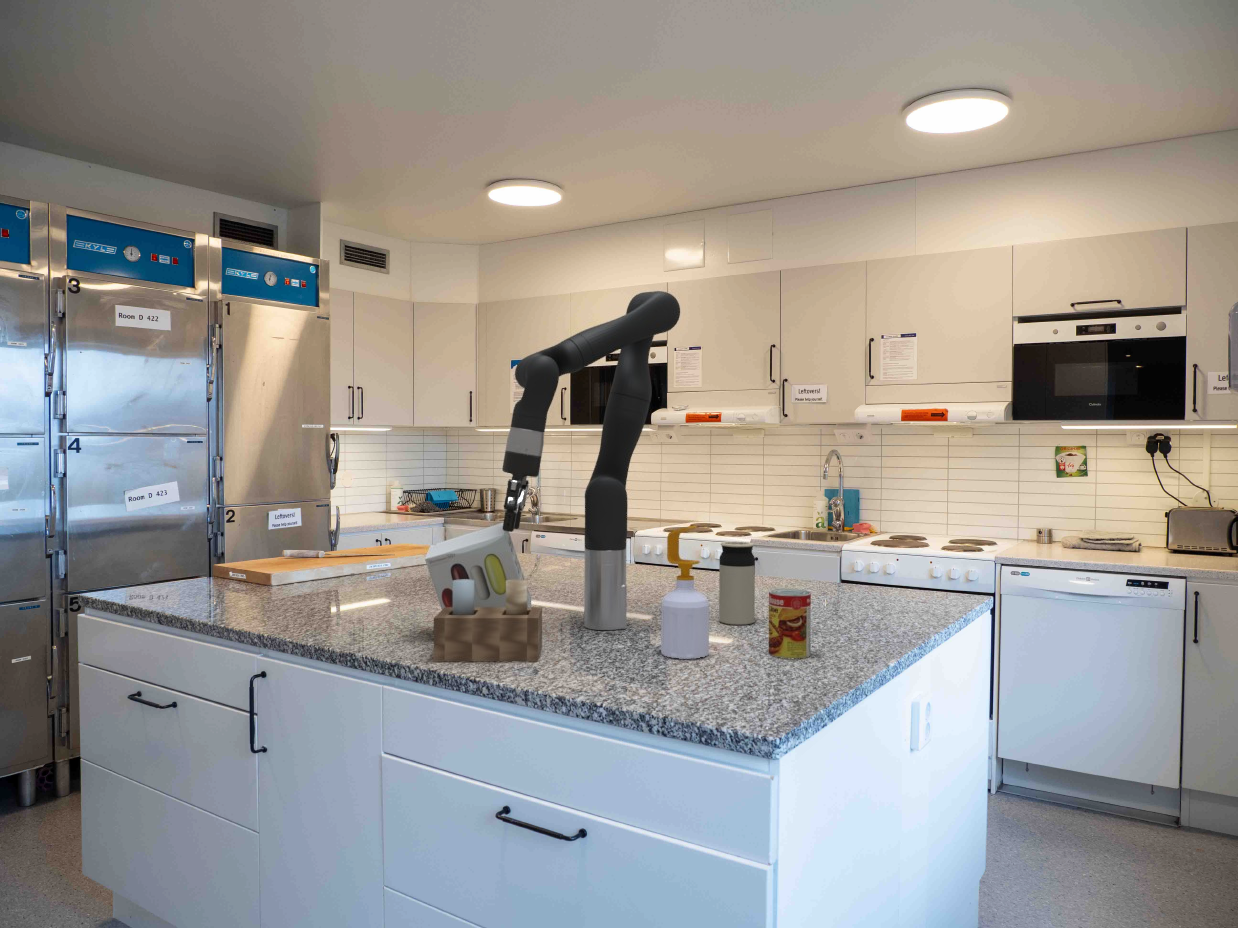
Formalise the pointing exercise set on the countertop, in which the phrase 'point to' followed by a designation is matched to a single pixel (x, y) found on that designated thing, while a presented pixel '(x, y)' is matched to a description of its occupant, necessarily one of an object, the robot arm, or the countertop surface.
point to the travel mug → (737, 584)
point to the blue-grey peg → (463, 597)
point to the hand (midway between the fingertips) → (510, 529)
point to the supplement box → (475, 566)
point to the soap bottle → (684, 610)
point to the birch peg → (516, 597)
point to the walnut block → (488, 635)
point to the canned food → (789, 623)
